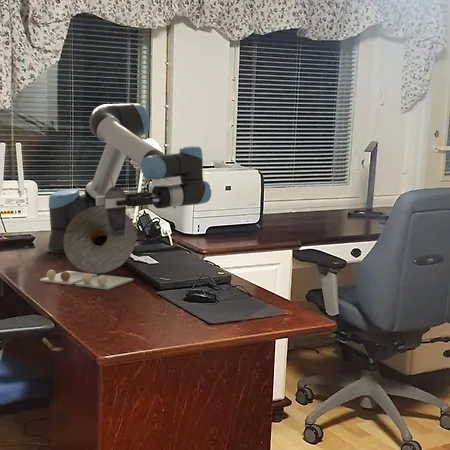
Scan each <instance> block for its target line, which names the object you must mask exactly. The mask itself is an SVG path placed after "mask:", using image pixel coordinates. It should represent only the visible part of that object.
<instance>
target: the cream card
mask: <svg viewBox="0 0 450 450" xmlns="http://www.w3.org/2000/svg"><path fill="white" fill-rule="evenodd" d="M85 274H89V275H91V277H92V278H94V277H97V276H98V273H88V272H84V271H71V270H65V271H61V272H59V273H56V271H55V269H49V270H47V272H46V277H42V278H40V279H39V281H40V282H46V283H53V284H60V285H61V284H62V285H69V286H70V285H74V284H75V283H78V282H81V281H82V277H83V276H84V275H85Z"/></svg>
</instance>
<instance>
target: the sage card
mask: <svg viewBox="0 0 450 450" xmlns="http://www.w3.org/2000/svg"><path fill="white" fill-rule="evenodd" d="M132 281H134V278H133V277H132V278H131V277H123V276H116V275H115V276H114V275H108V274H100V275H97V276H96V277H93V278H92V277H91V275H89V274H85V275H84V276H83V277H82V281H80V282H77V283H74V284H75V286H77V287H82V288H83V287H85V288H93V289H100V290H107V291H108V290H111V289H114V288H116V287H119V286H121V285H124V284H127V283H129V282H132Z"/></svg>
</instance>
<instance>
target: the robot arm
mask: <svg viewBox="0 0 450 450" xmlns="http://www.w3.org/2000/svg"><path fill="white" fill-rule="evenodd" d="M88 121H89V128H90V131H91V133H92V135H94V136H95V138H96V139H98V140H100V141H101V142H103V143H106V144H105V146H104V149H103V152H102V154H101V158H100V160H99V163H98V166H97V168H96V170H95V174H94V176H93V179H92V181H90V182H88V183H87V185H86V186H85V189H84V191H79V189H77V188H70V189H69V188H68V189H62V190H59V191H55V192H53V193H51V194H50V195H49V197H48V209H49V210H48V211H49V221H50V223H49V224H50V235H49V239H48V243H47V253H49V252H51V253H50V254H54V253H57V254H56V255H66V254H65V251H64V246H63V240H64V234H65V231H66V228H67V226H68V225H69V223H70V222H71V220H72V219H73V218H74V217H75V216H76V215H77V214H79V213H80V212H82V211H83V210H85V209H88V208H91V207H94V206H105V208H106V209H107V208H116V207H126V208H127V207H130V208H134V207H141V206H148V205H149V206H150V205H151V206H152V205H153V207H154V208H156V209H158V210H159V209H166V208H173V209H176V208H177V207H183V206H184V207H185V206H195V205H200V204H201V205H202V204H206V203H208V202H209V201H210V200H211V198H212V189H211V185H210V184H209V182H207V181H204V177H203V173H204V172H203V171H204V170H203V163H204V162H203V161H204V159H203V158H204V157H203V151H202V148H201V147H200V146H182V147H180V148H179V152H178V153H170V154H163V153H162V152H160V150H157V149H156V148H154V147H153V146H152V145H151V144H149V143H148V142H146V141H145V140H144V139H142V138H140V136H144V135H146V134H147V133H148V132H149V129H150V117H149V114H148V111H147V109H146V108H145V106H143V105H142V104H140V103H132V102H130V103H112V104H110V103H107V104H102V105H99V106H97V107H96V108H94V110H93V111H92V113H91V114H90V116H89V120H88ZM126 158H129V159H131V160H132V161H133V162H134V163H136V165H139V166H140V170H141V173H142V175H143V178H146V179H147V180H161V179H168V178H177V177H179V178H180V183H169V184H166V185H165V184H161V185H154V186H153V187H152V189H151V191H150V192H149V191H143V192H142V191H139V192H132V193H131V192H129V193H125V194H126V198H116V199H106V200H105V201H104V197H105V193H106V192H107V190H108V189H110V188H111V187H112V183H111V177H110V173H111V174H112V180H113V186H114V187H116V183H117V180H118V178H119V176H120V172H121V171H122V168H123V166H124V162H125V160H126Z"/></svg>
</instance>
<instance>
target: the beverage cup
mask: <svg viewBox="0 0 450 450" xmlns="http://www.w3.org/2000/svg"><path fill="white" fill-rule="evenodd" d="M110 177H111V183H112V187H111V188H110V189H108V190H107V192H106V193H105V197H104V201H105V200H106V199H116V198H126V194H127V193H126V192H125V190H124V189H123V188H121V187H119V186H113V180H112V174H111V173H110ZM106 210H107V217H108V224H109V231H110V236H112V237H120V236H124V235H125V217H126V215H127V211H126V210H127V206H126V207H116V208H107V209H106Z"/></svg>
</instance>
